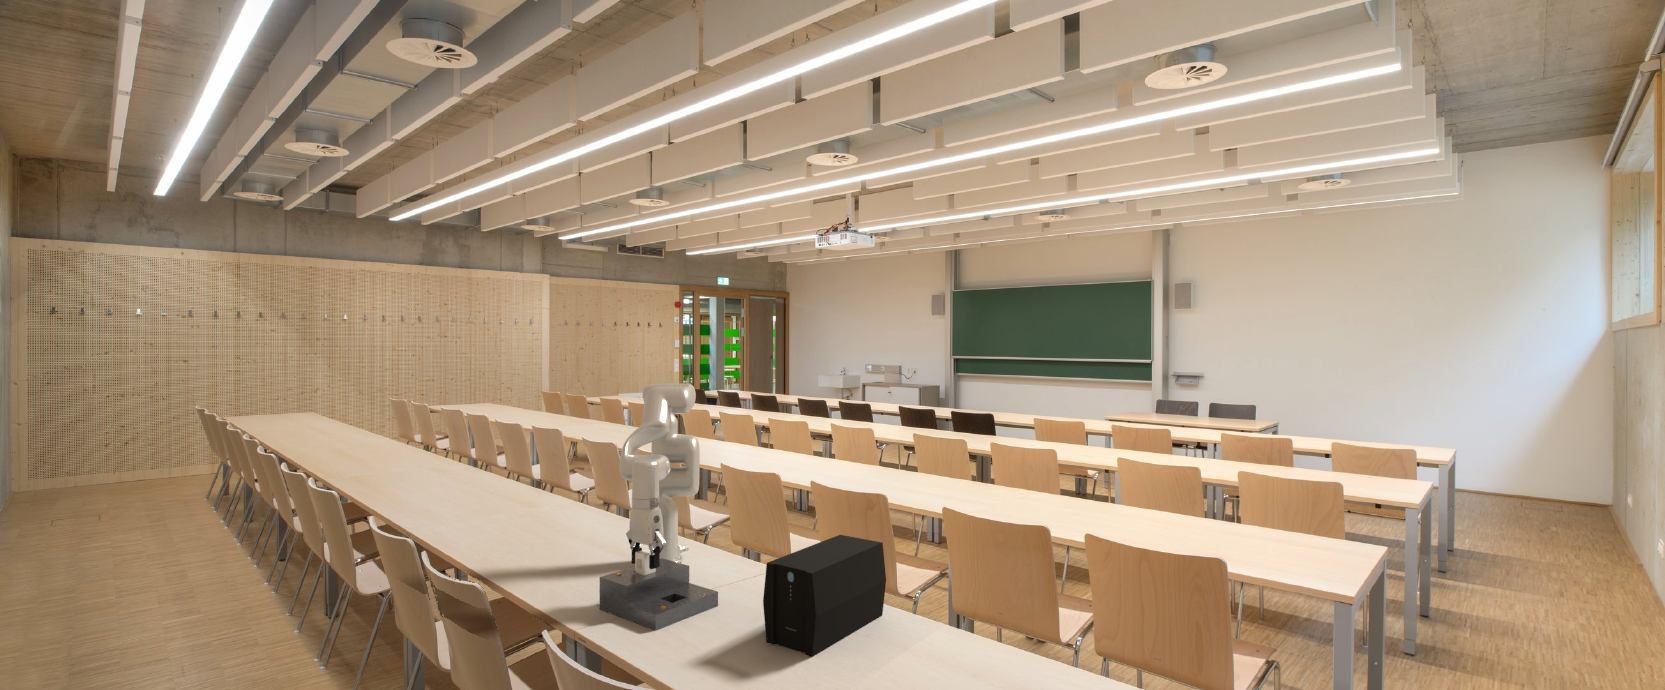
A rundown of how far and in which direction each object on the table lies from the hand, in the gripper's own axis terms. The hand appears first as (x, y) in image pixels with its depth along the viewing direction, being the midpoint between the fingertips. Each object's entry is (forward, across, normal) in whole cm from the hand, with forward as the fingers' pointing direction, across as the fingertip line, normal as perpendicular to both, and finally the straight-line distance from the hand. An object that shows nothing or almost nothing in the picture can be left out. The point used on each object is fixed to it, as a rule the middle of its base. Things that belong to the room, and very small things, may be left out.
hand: (645, 564), depth 208 cm
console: (+11, -6, 0) cm, 12 cm away
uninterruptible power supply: (+11, -52, -18) cm, 56 cm away
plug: (+4, 0, 0) cm, 4 cm away
